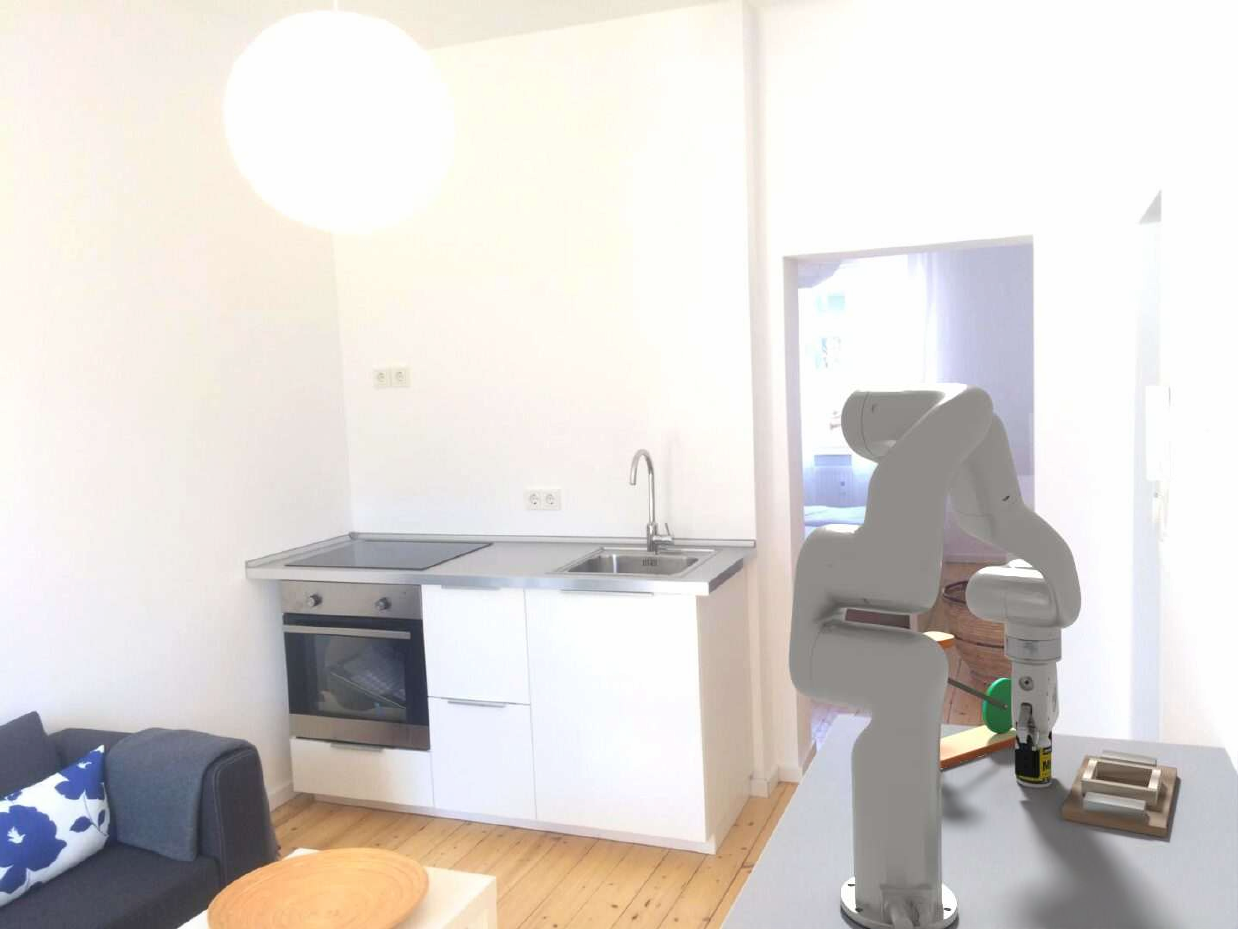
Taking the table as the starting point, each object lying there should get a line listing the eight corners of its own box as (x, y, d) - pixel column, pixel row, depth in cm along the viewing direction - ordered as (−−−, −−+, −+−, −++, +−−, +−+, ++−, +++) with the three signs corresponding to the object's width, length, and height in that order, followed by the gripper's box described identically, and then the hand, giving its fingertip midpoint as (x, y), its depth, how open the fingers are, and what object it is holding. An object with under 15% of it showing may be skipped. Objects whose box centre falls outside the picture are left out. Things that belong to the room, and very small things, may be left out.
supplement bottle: (1048, 791, 145) (1048, 732, 144) (1012, 785, 147) (1012, 727, 146) (1054, 779, 149) (1054, 722, 148) (1019, 773, 151) (1019, 717, 150)
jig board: (1164, 837, 129) (1164, 812, 129) (1061, 819, 136) (1061, 795, 135) (1177, 776, 148) (1177, 754, 148) (1085, 762, 154) (1085, 741, 154)
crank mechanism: (936, 771, 153) (934, 644, 152) (903, 758, 159) (901, 635, 157) (1045, 735, 166) (1044, 617, 164) (1011, 724, 172) (1010, 610, 170)
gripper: (1050, 666, 137) (1051, 791, 138) (1070, 634, 151) (1071, 748, 153) (991, 660, 141) (993, 781, 142) (1016, 630, 155) (1018, 740, 157)
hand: (1033, 764), depth 148 cm, fingers open, 9 cm apart
